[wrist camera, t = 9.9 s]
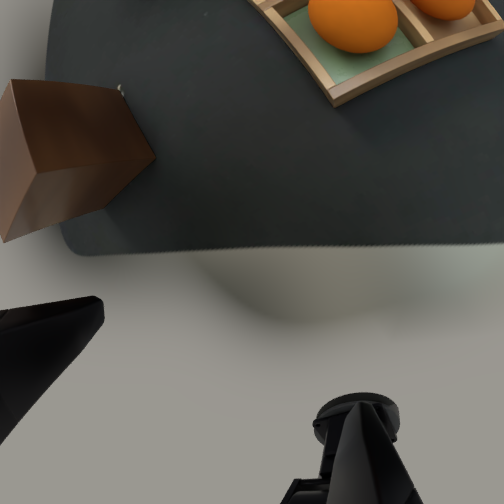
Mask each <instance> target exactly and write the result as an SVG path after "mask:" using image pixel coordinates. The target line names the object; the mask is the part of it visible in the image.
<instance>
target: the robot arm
mask: <svg viewBox="0 0 504 504" xmlns="http://www.w3.org/2000/svg"><path fill="white" fill-rule="evenodd" d="M104 319H105V317H104V304H103V301H102V300H101V299H99V298H98V297H96V296H87V297H81V298H75V299H69V300H63V301H57V302H51V303H44V304H38V305H32V306H26V307H19V308H13V309H9V310H8V309H6V310H0V445H1V444H2V442H3V441H4V440H5V439H6V437H7V436H8V435H9V434H10V433H11V431H12V430H13V429H14V428H15V426H16V425H17V424H18V422H19V421H20V420H21V419H22V418H23V417H24V415H25V414H26V413H27V412H28V410H30V408H31V407H32V406H33V405H34V404H35V403H36V402H37V400H38V399H39V398H40V397H41V396H42V395H43V393H44V392H45V391H46V390H47V389H48V388H49V387H50V385H52V383H53V382H54V381H55V380H56V379H57V378H58V377H59V376H60V375H61V374H62V372H63V371H64V370H65V369H66V368H67V367H68V366H69V365H70V364H71V363H72V362H73V361H74V359H75V358H76V357H77V356H78V355H79V354H80V353H81V352H82V350H83V349H84V348H85V347H86V345H87V344H88V342H89V341H90V340H91V339H92V337H93V336H94V335H95V333H96V332H97V331H98V330H99V328H100V327H101V326H102V324H103V323H104ZM313 427H314V429H315V430H316V431H317V432H318V434H319V435H320V436H321V438H322V439H323V440H324V442H325V445H324V450H323V456H322V461H321V466H320V471H319V477H318V479H294V480H293V482H292V484H291V486H290V487H289V489H288V491H287V493H286V494H285V497H284V498H283V500H282V502H281V503H280V504H423V502H422V500H421V498H420V496H419V494H418V492H417V490H416V488H414V484H413V482H412V481H411V479H410V476H409V474H408V472H407V470H406V469H405V466H404V465H403V463H402V461H401V459H400V457H399V455H398V453H397V451H396V449H395V447H394V445H393V443H394V442H396V441H397V435H396V432H395V430H394V428H393V426H392V423H391V421H390V419H389V417H388V414H387V412H386V410H385V408H384V406H383V404H382V403H374V404H371V403H368V402H364V401H358V402H357V403H356V404H355V406H354V407H353V408H352V410H351V411H347V412H343V413H339V414H336V415H332V416H327V417H323V418H319V419H315V420H314V421H313Z"/></svg>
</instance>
